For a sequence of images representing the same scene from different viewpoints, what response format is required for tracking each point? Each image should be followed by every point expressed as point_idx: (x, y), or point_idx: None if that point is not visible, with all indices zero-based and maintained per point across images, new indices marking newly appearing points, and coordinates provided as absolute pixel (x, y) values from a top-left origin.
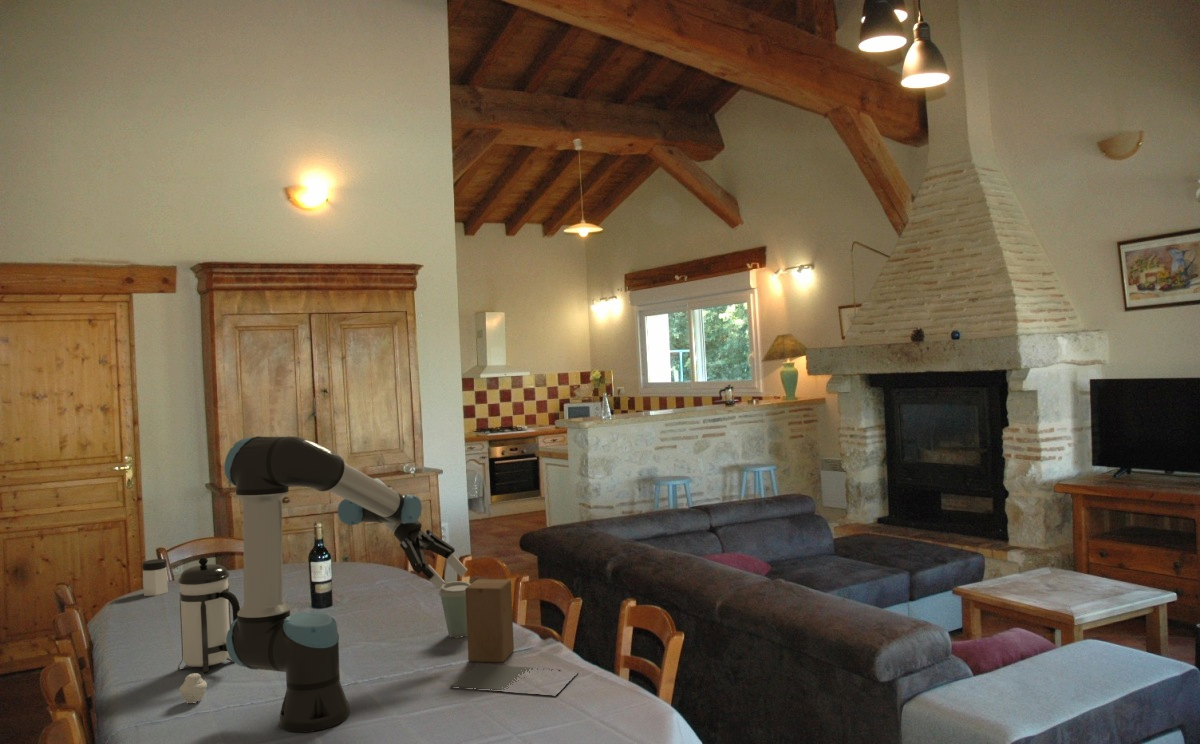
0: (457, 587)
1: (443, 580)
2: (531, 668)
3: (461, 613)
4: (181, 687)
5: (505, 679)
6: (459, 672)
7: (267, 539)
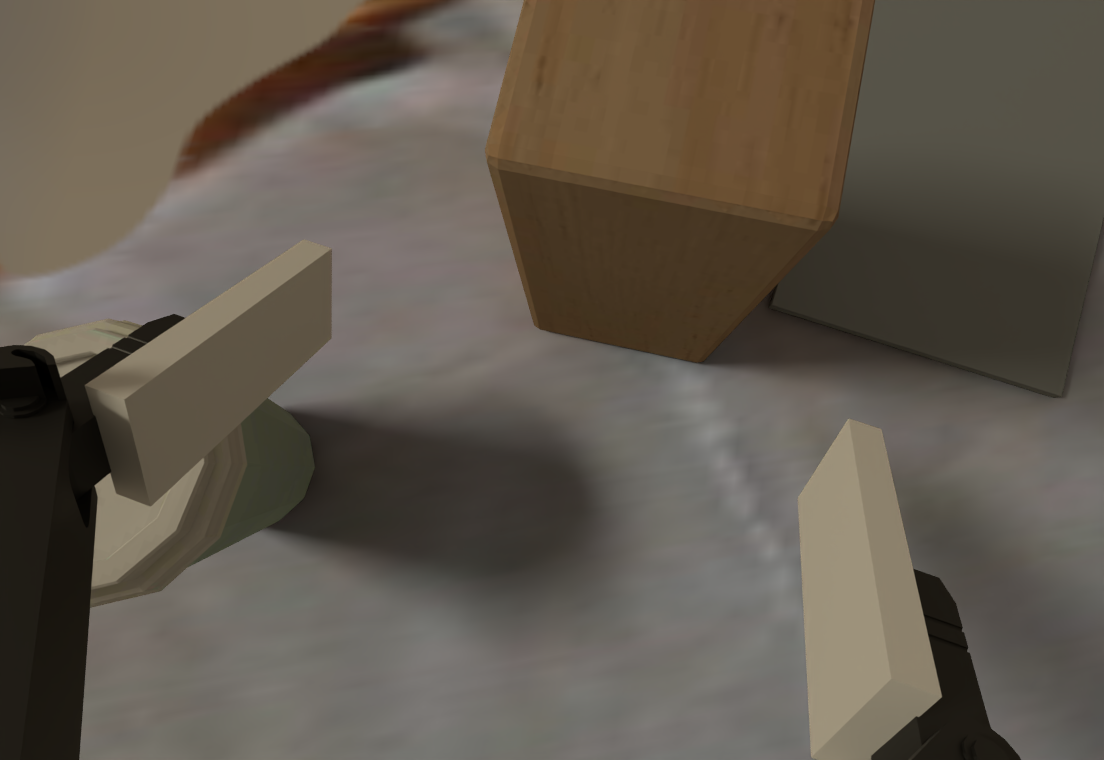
0: None
1: (860, 436)
2: None
3: (274, 429)
4: None
5: (987, 164)
6: (846, 385)
7: None
